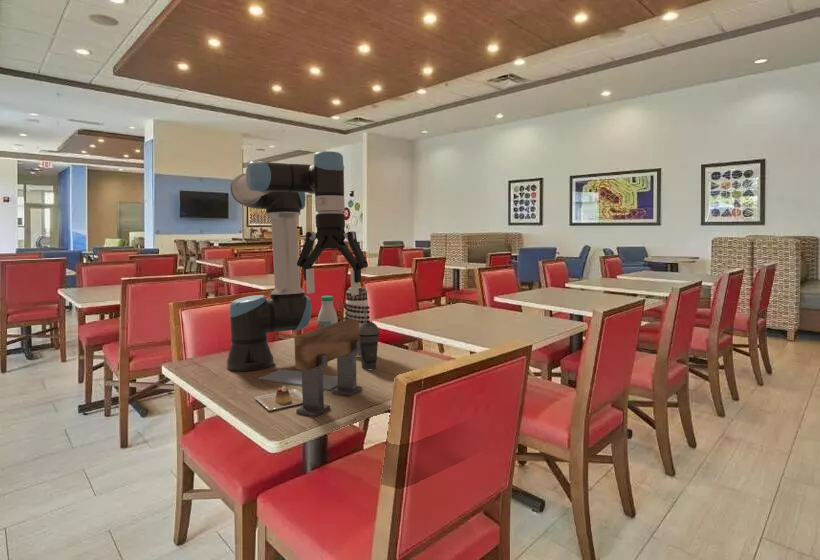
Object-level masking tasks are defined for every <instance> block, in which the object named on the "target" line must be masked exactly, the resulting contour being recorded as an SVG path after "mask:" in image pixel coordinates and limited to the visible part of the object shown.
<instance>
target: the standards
mask: <svg viewBox="0 0 820 560" xmlns="http://www.w3.org/2000/svg"><path fill="white" fill-rule="evenodd" d="M359 351H360V340H354V341H352V351H351V352H349V353H347V354H345V355H342V356H340V357H338V358H336V366H337V367H336V368H337V370H336V371H337V372H336V373H337V376H336V377H338V387H336V388H334V389H332V390H331V392H332V394H334V395H338V396H339V395H341V396H345V397H346V396H347V397H352V396H354V395H355V393H356V394H358V393H359V392H361V391H362V390H363V388H362V387H363V386H360V385H357V358H356V353H357V352H359ZM328 363H329V362H328V361H327V354H323V353H322V354H320V355H318V366H317V367H315V368H313V369H311V370H303V369H301V372H302V386H301V390H302V392H301V393H302V396H303V399H302V402H303V404H302V406H301V407H299V408H297V409H296V410H295V411H296V415H297V414H298V415H301V416H302V415H303V416H307V417H308V416H309V417H312V418H318V417H320V415H322V414H324V413H326V412H327V411H329V410H331V405H330V404H327V403H326V404H325V402H324V401H325V398H324V397H325V395H324V389H323V375H324V368H325V367H328ZM360 390H361V391H360Z"/></svg>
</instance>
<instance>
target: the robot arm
mask: <svg viewBox="0 0 820 560" xmlns="http://www.w3.org/2000/svg"><path fill="white" fill-rule="evenodd" d="M313 155H314V156H313V163H312V164H307V163H305V164H304V163H284V162H283V163H282V162H270V161H269V162H268V161H263V160H261V161H250V162H248V163H247V166H246V170H245V173H241V174H239V175H237V176H236V177H234V178H233V180H232V181H231V183H230V194H231V197H233V199H234V200H235V201H236V202H237V203H238V204H240V205H242V206H244V207H247V208H250V209H256V210H265V214H266V216H267V217H268V218H269V219H270V222H271V223H270V224H271V225H270V226H271V240H272V241H271V242H272V243H271V244H272V260H273V276H274V277H273V278H274V279H273V280H274V289H273V290H272V291H271V292H270V298H267V297H266V295H264V294H259V295H248V296H244V297H240V298H236V299H235V300H233V301H232V302H231V303H230V304H229V314H228V316H229V323H230V343H231V345H230V348H229V352H228V357H227V359H226V368H227V369H228V370H231V371H234V370H235V372H249V371H250V370H252V371H257V370H258V369H259V370H263V369H266V368H270V367H271V366H272V365H274V356H273V354H272V352H271V349H270V346H269V342H268V334H270V333H278V332H280V333H281V332H288V331H293V332H294V331H297V330H303V329H305V328H306V327H308V325H309V323H310V320H311V316H312V303H311V298H310V297H309V296H307V295H306V294H308V295H309V294H314V293H316V291H315V289H316V287H315V268H313V265H314V264H315V263H316V261H317V259H318V258H319V256H321V254H322V253H323V251H324V250H330V249H331V250H338V251H339V252H340V254H341V255H342V256H343V257H344V258H345V260H346V261H347V262H348V264H349V266H351V268H352V269H351V270H350V287H351V296H355V295H359V286H360V285H359V284H360V283H361V281H362V270H363V269H364V268H367V267H369V264H368V261H367V259H366V257H365V255H364V252H363V251H362V249H361V246H360V244H359V241H358V238H357V233H356V231H354V230H353V231H351V230H350V231H347V232H346V231H345V227H346V215H345V214H344V213H343V212H345V211H346V208H345V205H346V204H345V179H344V178H345V176H344V175H345V166H344V156H343V155H342V153H340V152H338V151H328V150H327V151H317V152H315V153H314V154H313ZM306 194H311V195H312V194H314V203H315V212H317V214H316V215H315V227H316V232H314V231H307V232H306V234H305V241H304V244H303V246H302V249H301V251H300V254H299V243H298V228H297V225H298V223H297V219H298V218H299V217H300V215H301V211H302V210H304V209H305V207H306V200H307V199H306ZM345 239H346V240H347V241H348V244H346V242H345ZM316 240H317V243H316V244H315V241H316ZM314 244H315V246H314ZM348 245H349V246H350V249H351V250H350V249H349V247H348ZM313 247H314V249H313ZM311 251H312V252H311ZM300 267H301V268H302V269H303V280H304V281H305V283H306V292H305V290H304V289H302V287H301V283H300V280H301V278H300Z"/></svg>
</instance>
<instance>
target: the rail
mask: <svg viewBox="0 0 820 560" xmlns="http://www.w3.org/2000/svg"><path fill="white" fill-rule="evenodd" d="M354 340H360V336H359V320H350V319H347V320H346V319H344V320H341V321H338V322H337V323H334V324H331V325H328V326H325V327H322V328H319V329H318V328H317V329H313V330H310V331H307V332H304V333H300V334H297V335H295V336H294V360H295V361H294V364H295V367H294V368H295V369H297V370H302V369H303V370H311V369H313V368H315V367H317V366H318V355H320V354H322V353H323V354H327V361H328V363H329V362H331V361H333V360H335V359H336V360H337V358H338V357H340V356H342V355H345V354H347V353H349V352H351V351H352V341H354Z"/></svg>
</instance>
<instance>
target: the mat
mask: <svg viewBox="0 0 820 560" xmlns="http://www.w3.org/2000/svg"><path fill="white" fill-rule="evenodd" d="M261 379H263V381H267V380H268V382H273V383H274V382H275V383H280V384H287V385H288V384H289V385H293V386H300V387H302V371H296V370H290V369H283V368H281V369H278V370H276V371H273V372H270V373H268V374H266V375H264V376H263V375H262V376H261V377H259V380H261ZM337 387H338V376H332V375H325V374H323V391H324V390H325V391H332V390H334V389H335V388H337Z"/></svg>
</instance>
